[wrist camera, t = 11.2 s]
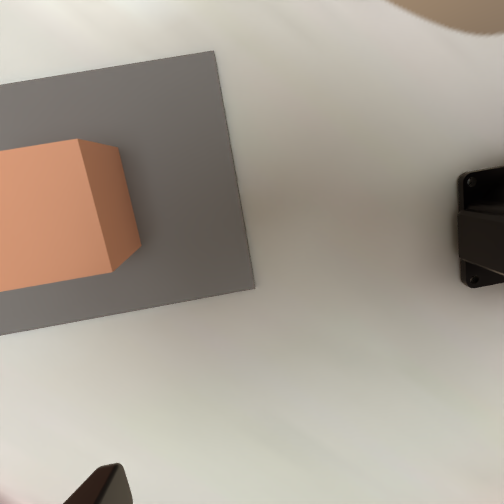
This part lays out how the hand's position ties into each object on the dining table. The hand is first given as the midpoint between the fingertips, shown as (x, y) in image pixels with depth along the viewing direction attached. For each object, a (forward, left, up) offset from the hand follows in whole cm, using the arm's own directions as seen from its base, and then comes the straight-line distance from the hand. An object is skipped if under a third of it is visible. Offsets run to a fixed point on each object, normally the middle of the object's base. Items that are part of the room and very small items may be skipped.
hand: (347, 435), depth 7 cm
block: (+9, -5, -13) cm, 16 cm away
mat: (+9, -5, -13) cm, 17 cm away
